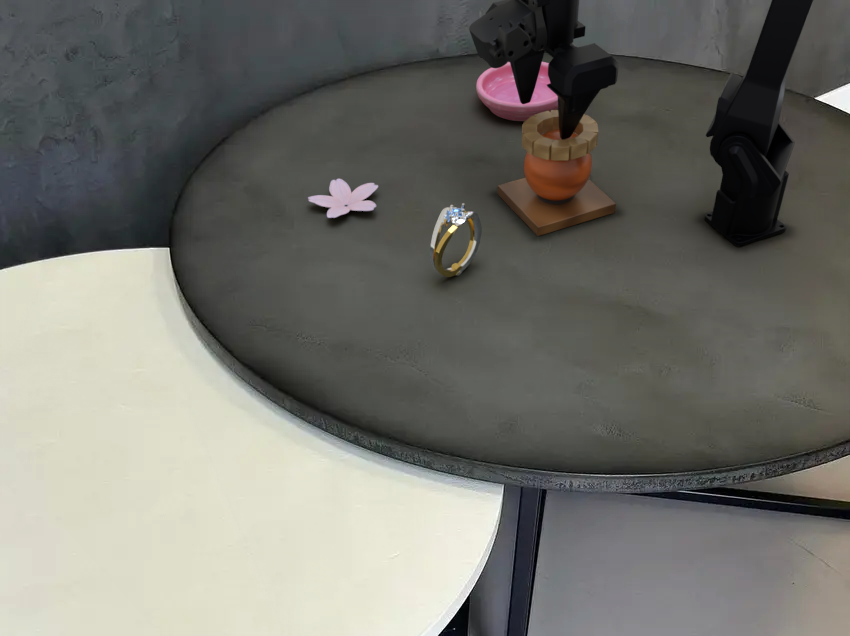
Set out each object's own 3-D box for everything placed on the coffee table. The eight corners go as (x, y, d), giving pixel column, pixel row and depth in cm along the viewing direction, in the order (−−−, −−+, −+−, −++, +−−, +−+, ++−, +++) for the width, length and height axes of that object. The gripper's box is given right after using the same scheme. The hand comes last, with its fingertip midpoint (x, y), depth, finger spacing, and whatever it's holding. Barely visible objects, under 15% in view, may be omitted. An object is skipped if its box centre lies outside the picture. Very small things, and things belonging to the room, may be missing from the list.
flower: (360, 239, 112) (359, 227, 111) (288, 219, 116) (286, 208, 115) (402, 196, 118) (402, 184, 117) (332, 178, 121) (330, 167, 120)
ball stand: (571, 172, 119) (576, 103, 113) (615, 212, 113) (623, 142, 106) (497, 194, 117) (498, 125, 110) (537, 236, 111) (541, 166, 104)
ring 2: (571, 116, 113) (572, 103, 111) (611, 147, 107) (612, 134, 106) (508, 135, 111) (508, 121, 109) (545, 168, 106) (546, 154, 104)
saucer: (575, 125, 126) (577, 101, 124) (478, 130, 127) (478, 106, 125) (565, 80, 135) (567, 57, 132) (474, 85, 135) (474, 62, 133)
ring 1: (443, 293, 105) (441, 228, 99) (423, 281, 106) (419, 215, 100) (490, 265, 108) (490, 200, 102) (469, 253, 109) (468, 188, 103)
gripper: (440, -43, 103) (444, 102, 114) (524, 23, 91) (519, 177, 103) (535, -65, 105) (529, 80, 117) (629, -3, 94) (612, 150, 105)
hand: (544, 120), depth 110 cm, fingers open, 9 cm apart
